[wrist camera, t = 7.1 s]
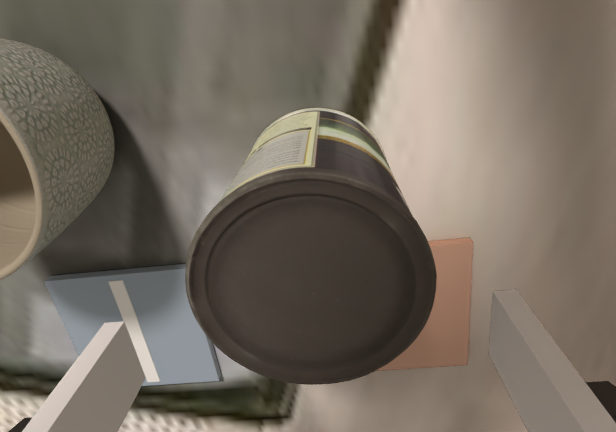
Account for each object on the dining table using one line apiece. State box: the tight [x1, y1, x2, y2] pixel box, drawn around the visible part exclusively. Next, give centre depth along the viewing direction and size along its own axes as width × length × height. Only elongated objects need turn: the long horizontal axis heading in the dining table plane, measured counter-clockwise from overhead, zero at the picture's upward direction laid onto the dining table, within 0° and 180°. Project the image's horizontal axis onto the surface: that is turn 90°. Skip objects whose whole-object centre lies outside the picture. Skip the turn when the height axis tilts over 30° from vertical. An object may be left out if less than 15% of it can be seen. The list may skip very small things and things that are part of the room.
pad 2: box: [376, 238, 473, 371], centre depth 34 cm, size 12×12×1 cm
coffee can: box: [185, 108, 437, 384], centre depth 23 cm, size 10×10×14 cm
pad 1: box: [44, 264, 221, 386], centre depth 35 cm, size 12×12×1 cm
